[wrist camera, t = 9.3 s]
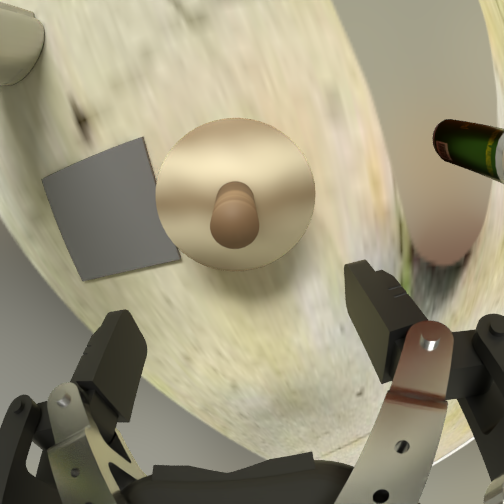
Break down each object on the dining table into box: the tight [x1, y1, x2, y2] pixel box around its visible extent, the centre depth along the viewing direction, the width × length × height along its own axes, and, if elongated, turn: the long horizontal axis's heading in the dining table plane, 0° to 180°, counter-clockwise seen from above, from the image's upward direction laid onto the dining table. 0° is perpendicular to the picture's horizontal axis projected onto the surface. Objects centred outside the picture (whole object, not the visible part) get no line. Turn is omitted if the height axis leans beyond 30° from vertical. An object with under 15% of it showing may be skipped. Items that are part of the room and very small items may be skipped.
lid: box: [156, 118, 315, 271], centre depth 21 cm, size 13×13×7 cm
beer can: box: [433, 119, 504, 184], centre depth 22 cm, size 5×5×12 cm
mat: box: [41, 137, 181, 281], centre depth 30 cm, size 14×14×1 cm
